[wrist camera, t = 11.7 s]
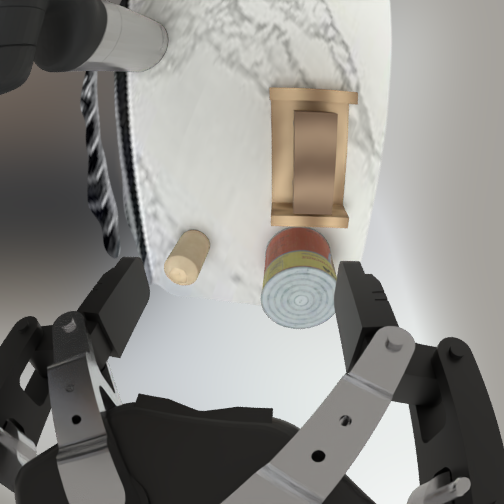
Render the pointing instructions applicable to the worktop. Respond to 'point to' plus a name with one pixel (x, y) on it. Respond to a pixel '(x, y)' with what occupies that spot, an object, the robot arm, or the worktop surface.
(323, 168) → the brown wooden block
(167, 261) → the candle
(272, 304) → the canned food
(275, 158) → the peg frame
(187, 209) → the worktop surface
